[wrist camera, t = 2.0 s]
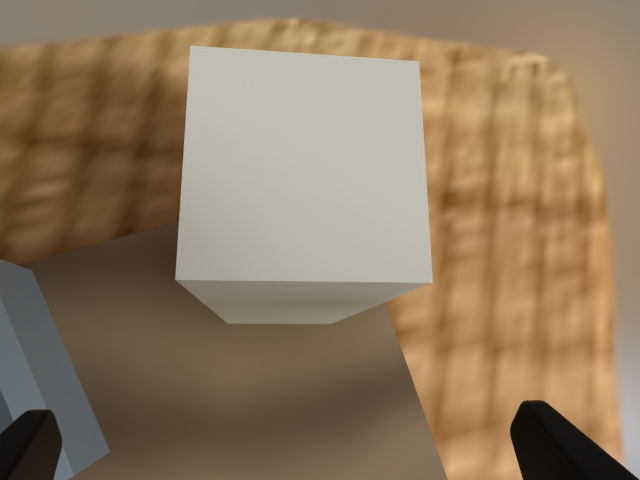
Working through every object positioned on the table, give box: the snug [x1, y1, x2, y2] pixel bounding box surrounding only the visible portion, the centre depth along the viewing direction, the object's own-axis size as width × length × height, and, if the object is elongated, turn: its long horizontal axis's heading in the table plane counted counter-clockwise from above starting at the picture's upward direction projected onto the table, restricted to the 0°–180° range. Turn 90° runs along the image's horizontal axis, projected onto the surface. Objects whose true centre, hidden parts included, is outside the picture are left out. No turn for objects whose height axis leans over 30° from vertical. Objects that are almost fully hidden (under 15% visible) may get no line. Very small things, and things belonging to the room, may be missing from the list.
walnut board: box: [18, 221, 447, 480], centre depth 19 cm, size 17×22×1 cm
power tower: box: [175, 46, 433, 324], centre depth 15 cm, size 5×4×12 cm
